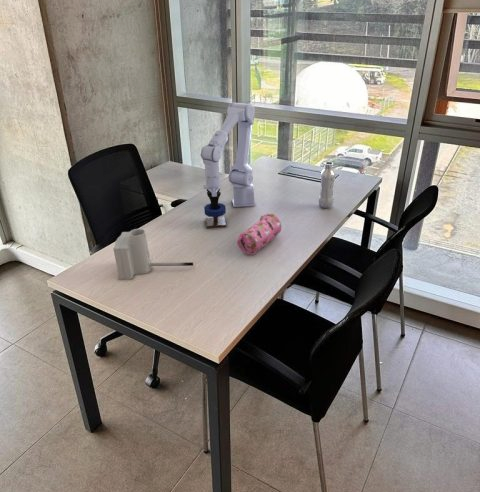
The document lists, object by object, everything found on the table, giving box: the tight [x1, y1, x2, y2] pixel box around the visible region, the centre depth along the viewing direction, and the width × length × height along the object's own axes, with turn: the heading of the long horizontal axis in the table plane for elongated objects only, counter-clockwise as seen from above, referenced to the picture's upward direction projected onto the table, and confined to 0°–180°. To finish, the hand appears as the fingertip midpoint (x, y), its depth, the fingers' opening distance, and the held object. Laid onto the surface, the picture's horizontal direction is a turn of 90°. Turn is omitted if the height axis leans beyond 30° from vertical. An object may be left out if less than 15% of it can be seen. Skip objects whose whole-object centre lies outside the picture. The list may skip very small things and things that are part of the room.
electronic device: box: [113, 228, 194, 280], centre depth 158 cm, size 12×26×15 cm, turn 88°
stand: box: [205, 216, 227, 229], centre depth 191 cm, size 8×8×6 cm
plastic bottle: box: [318, 161, 336, 209], centre depth 199 cm, size 6×7×20 cm
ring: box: [203, 202, 227, 218], centre depth 190 cm, size 9×9×2 cm
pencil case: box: [237, 213, 282, 256], centre depth 174 cm, size 21×9×9 cm, turn 150°
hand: (214, 206), depth 192 cm, fingers closed on ring, 2 cm apart
